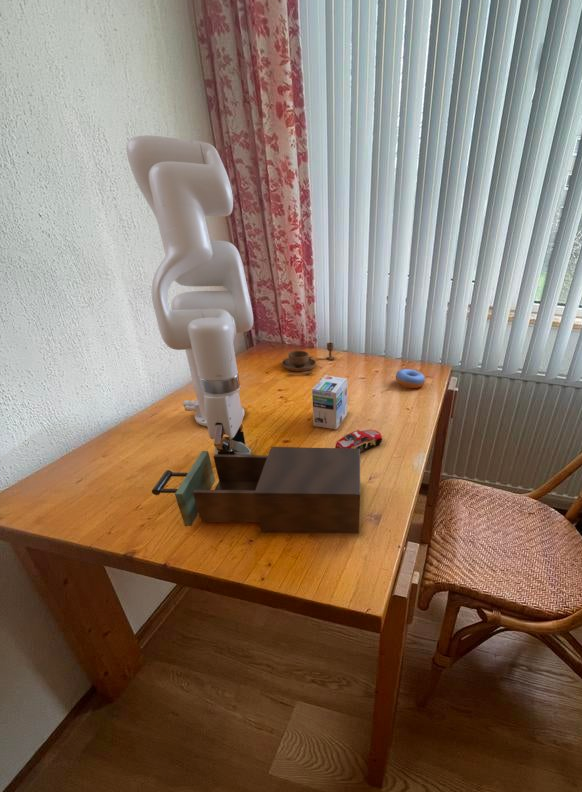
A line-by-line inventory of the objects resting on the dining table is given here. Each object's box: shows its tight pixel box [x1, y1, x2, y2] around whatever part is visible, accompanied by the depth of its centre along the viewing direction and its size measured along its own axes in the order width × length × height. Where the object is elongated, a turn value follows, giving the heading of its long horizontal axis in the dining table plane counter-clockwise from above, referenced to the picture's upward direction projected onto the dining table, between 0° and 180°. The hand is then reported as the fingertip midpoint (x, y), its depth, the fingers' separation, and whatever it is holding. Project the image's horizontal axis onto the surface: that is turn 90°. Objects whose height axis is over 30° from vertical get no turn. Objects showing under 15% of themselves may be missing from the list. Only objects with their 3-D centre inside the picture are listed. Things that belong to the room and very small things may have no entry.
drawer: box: [151, 450, 268, 527], centre depth 72 cm, size 23×14×7 cm, turn 93°
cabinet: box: [254, 446, 361, 534], centre depth 74 cm, size 18×15×9 cm
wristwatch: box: [214, 440, 252, 455], centre depth 87 cm, size 9×6×5 cm
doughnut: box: [395, 368, 426, 389], centre depth 130 cm, size 10×10×5 cm
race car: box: [334, 429, 383, 453], centre depth 95 cm, size 13×5×4 cm, turn 133°
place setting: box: [281, 342, 335, 376], centre depth 138 cm, size 18×20×6 cm
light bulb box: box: [311, 375, 348, 430], centre depth 104 cm, size 11×7×11 cm, turn 168°
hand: (233, 454), depth 88 cm, fingers closed on wristwatch, 7 cm apart
